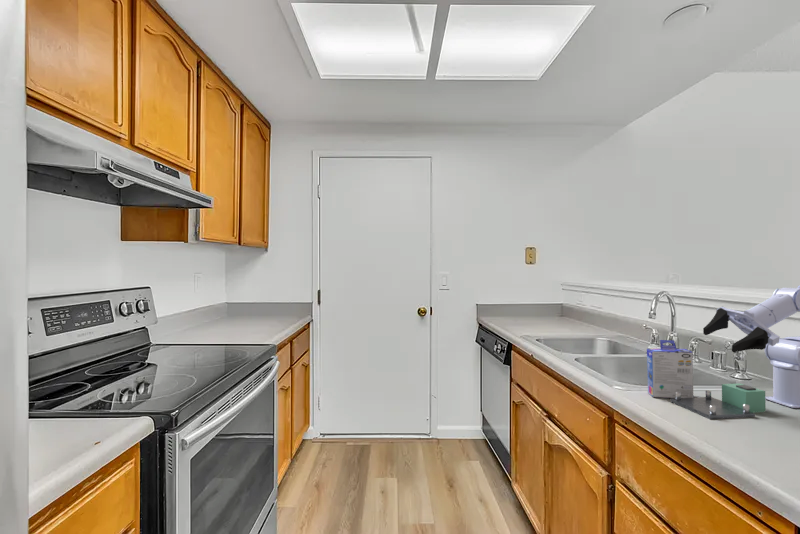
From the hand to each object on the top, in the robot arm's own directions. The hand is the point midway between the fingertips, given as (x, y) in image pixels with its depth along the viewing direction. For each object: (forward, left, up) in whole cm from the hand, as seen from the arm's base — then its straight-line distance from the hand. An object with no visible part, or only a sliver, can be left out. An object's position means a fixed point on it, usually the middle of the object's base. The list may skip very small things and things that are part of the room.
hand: (718, 340), depth 110 cm
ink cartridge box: (+5, -11, -17) cm, 20 cm away
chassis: (+3, +1, -16) cm, 17 cm away
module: (-6, +1, -17) cm, 18 cm away
